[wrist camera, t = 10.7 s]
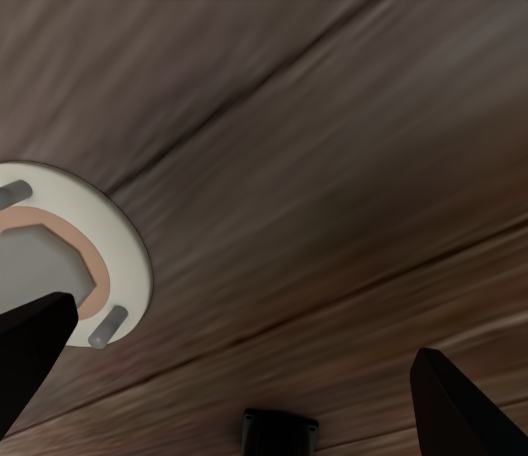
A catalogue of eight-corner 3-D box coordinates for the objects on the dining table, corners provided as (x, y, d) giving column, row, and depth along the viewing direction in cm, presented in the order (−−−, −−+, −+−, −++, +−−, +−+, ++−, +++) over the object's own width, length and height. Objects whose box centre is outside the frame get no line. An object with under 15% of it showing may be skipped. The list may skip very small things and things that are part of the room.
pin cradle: (160, 350, 27) (137, 393, 23) (-6, 322, 28) (-53, 359, 25) (142, 174, 20) (105, 197, 17) (-76, 149, 21) (-154, 166, 18)
